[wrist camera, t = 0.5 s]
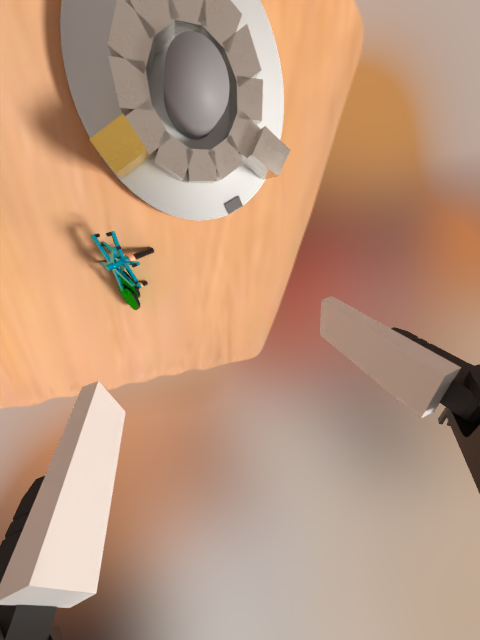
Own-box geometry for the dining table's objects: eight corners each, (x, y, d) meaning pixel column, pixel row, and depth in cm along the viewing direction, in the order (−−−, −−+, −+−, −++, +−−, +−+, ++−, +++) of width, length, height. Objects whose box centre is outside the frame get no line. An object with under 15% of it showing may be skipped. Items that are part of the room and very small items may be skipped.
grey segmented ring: (6, 28, 17) (-36, -20, 14) (183, -112, 17) (190, -199, 13) (174, 245, 30) (176, 250, 26) (280, 166, 29) (297, 161, 25)
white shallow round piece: (-2, 24, 18) (-79, -59, 12) (213, -145, 18) (239, -315, 12) (176, 252, 32) (180, 262, 26) (301, 160, 31) (333, 150, 26)
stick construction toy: (75, 227, 25) (112, 248, 22) (128, 213, 29) (164, 230, 26) (112, 301, 33) (142, 323, 30) (148, 283, 38) (177, 301, 35)
